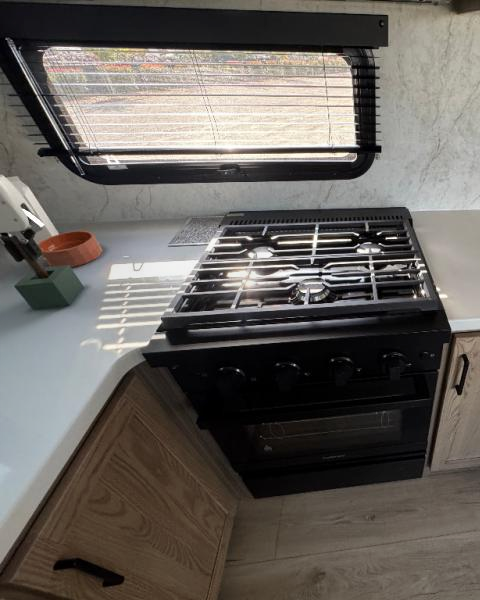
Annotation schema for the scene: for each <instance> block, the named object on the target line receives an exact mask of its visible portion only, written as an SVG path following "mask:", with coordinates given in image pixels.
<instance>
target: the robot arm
mask: <svg viewBox="0 0 480 600" xmlns="http://www.w3.org/2000/svg"><path fill="white" fill-rule="evenodd" d="M29 224H30V225H31V227H30V228H29ZM45 227H46V226H45V225H44V224H43V223H42V222H41V221H40V220H38V219H37V216H36V214H35V213H34V211H33V209H32V208H31V207H30V205H29V204H28V203H27V201H26V200H25V199H24V197H23V196H22V195H21V194H20V193H19V191H18V190H17V189H16V188H15V187H14V186H13V185H12V184H11V183H10V181H9V180H8V179H7V177H6V176H4V174H0V246H2V247H4V248H5V250H6V251H7V252H8V253H9V255H10V256H11V257H12V258H13V260H14V261H15V262H16V263H21V262H23V261H25V259H24V258H23V257H22V255H21V254H20V253H19V251H18V250H17V249H16V247H15V246H14V245H13V243H12V242H11V241H10V239H9V238H8V237H7V236H8V235H9V234H11V233H14V234H15V235H16V237H17V238H18V239H19V241H20V242H21V244H20V247H21V248H22V250H23V251H24V252H25V254H26V255H27V256H28V258H29V259H30V260H31V261H35V260H37V259H38V260H39V258H41V257H42V256H41V255H42V251H41V249H40V248H39V246H38V245H37V244H36V242H35V241H34V239H33V238H34V237H35V234H36V233H37V232H39V231H41V230H42V229H44V228H45ZM22 231H23V232H24V233H23V232H22Z"/></svg>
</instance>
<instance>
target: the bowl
mask: <svg viewBox="0 0 480 600" xmlns="http://www.w3.org/2000/svg"><path fill="white" fill-rule="evenodd" d="M38 246H39V248H40V249H41V251H42V255H41V256H40V257H42V259H43V260H44V261H45V263H46V264H47V266H48V267H52V266H63V265H70V267H71V268H75V267H80V266H82V265H85V264H88V263H91V262H93V261H94V260H96V259H97V258H99V257H100V256H101V255H102V253H103V248H102V246H101V244H100V243H99V241H98V240H97V238H96V235H95V234H93V232H91V231H88V230H73V231H67V232H61V233H59V234H58V235H55V236H52V237H49V238H47V239H45V240H43V241H41V242H40V243H39V244H38Z"/></svg>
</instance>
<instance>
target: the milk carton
mask: <svg viewBox="0 0 480 600" xmlns="http://www.w3.org/2000/svg"><path fill="white" fill-rule="evenodd" d="M6 178H7V179H8V180H9V181H10V183H11V184H12V185H13V186H14V187H15V188H16V189H17V190H18V191H19V193H20V194H21V195H22V196H23V197H24V199H25V200H26V201H27V203H28V204H29V205H30V207H31V208H32V209H33V211H34V213H35V214H36V216H37V219H38V220H40V221H41V222H42V223H43V224H44V225H45V226H46V227H45V228H44V229H42V230H41V231H39V232H37V233H36V234H35V237H34V238H33V239H34V241H35V242H36V244H37V245H38V244H39V243H40V242H41V241H43V240H45V239H47V238H49V237H52V236H55V235H58V234H60V233H59V232H58V230H57V228H56V227H55V226H54V224H53V222H52V221H51V219H50V218H49V216H48V215H47V213H46V211H45V210H44V209H43V207H42V206H41V204H40V203H39V201H38V199H37V198H36V196H35V195H34V193H33V191H32V190H31V188H30V187H29V186H28V185H27V184H26V183H24V182H23V181H22V180H21V179H20V178H19V176H18V175H16V176H9V177H6ZM30 227H31V225H30V224H29V228H30ZM22 232H23V231H22ZM23 233H24V232H23Z"/></svg>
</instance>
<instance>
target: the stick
mask: <svg viewBox="0 0 480 600" xmlns="http://www.w3.org/2000/svg"><path fill="white" fill-rule="evenodd" d="M7 237H8V238H9V239H10V241H11V242H12V243H13V245H14V246H15V247H16V249H17V250H18V251H19V253H20V254H21V255H22V257H23V258H24V261H25V262H26V263H27V264H28V266H29V267H30V269H31V270H33V271H34V272H35V274H36V275H37V276H38V278H39V279H44V278H48V277H49V276H50V275H49V274H48V273H47V271H46V270H45V269H44V267H45V266H43V265H42V262H41V261H40V260H39V258H38V259H37V260H35V261H31V260H30V259H29V258H28V256H27V255H26V254H25V252H24V251H23V250H22V248H21V247H20V244H21V242H20V241H19V239H18V238H17V237H16V235H15V234H14V233H13V232H11V233H10V234H9V235H8V236H7Z"/></svg>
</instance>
